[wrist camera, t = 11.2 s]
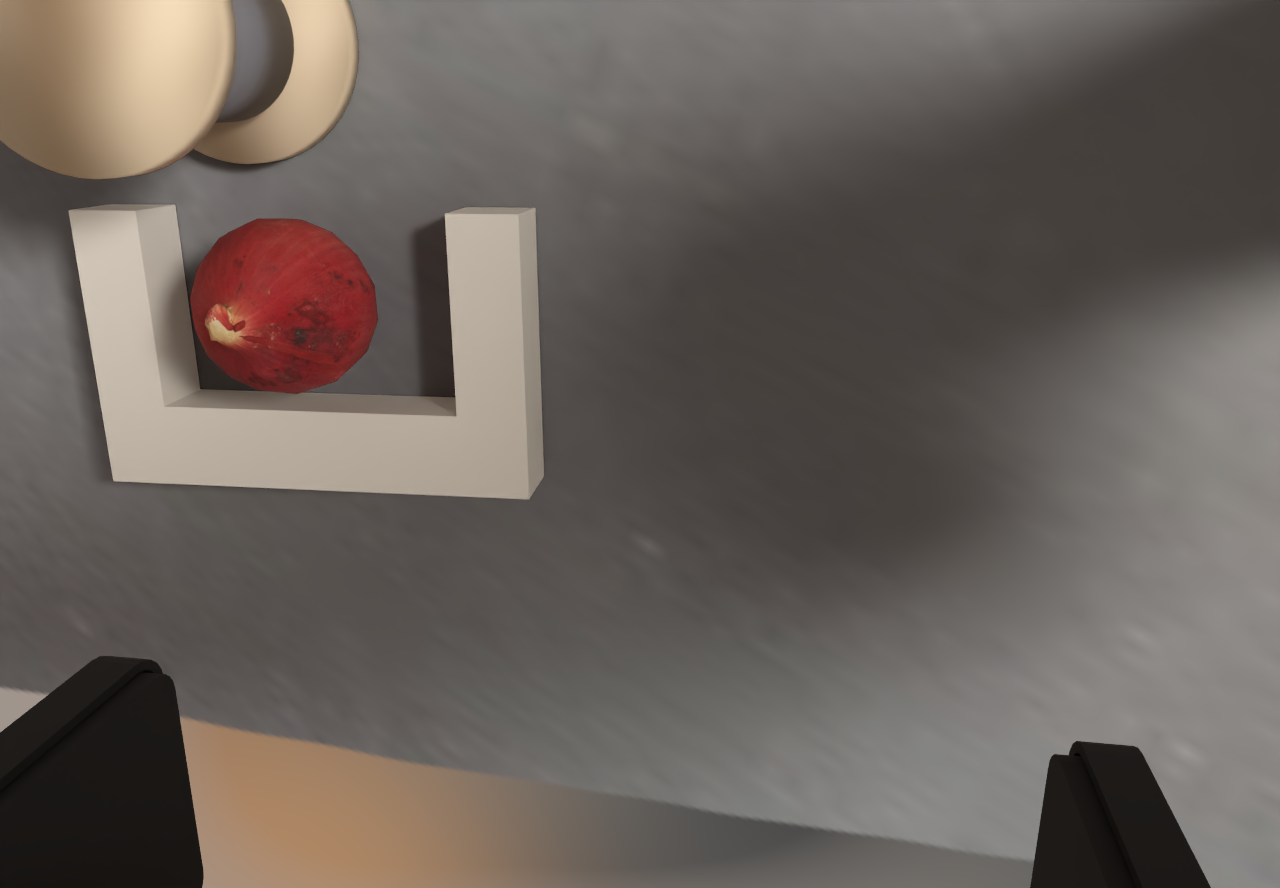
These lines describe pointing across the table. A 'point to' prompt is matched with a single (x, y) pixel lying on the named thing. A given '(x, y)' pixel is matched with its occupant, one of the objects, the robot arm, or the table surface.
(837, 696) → the table surface
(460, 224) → the notch board
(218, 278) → the onion
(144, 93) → the spool
